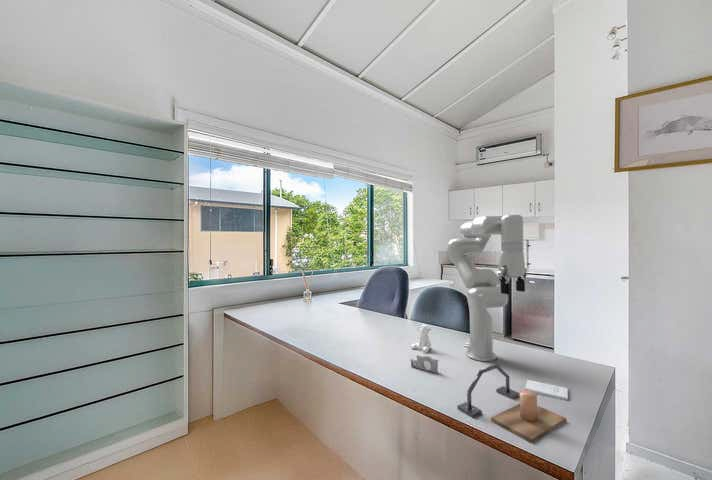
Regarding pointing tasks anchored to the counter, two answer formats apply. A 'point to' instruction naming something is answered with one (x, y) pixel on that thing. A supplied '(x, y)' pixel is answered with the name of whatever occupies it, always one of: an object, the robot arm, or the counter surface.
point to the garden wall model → (421, 363)
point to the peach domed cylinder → (528, 405)
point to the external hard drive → (547, 390)
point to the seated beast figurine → (423, 340)
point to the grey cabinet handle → (502, 390)
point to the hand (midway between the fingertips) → (513, 292)
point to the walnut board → (529, 422)
